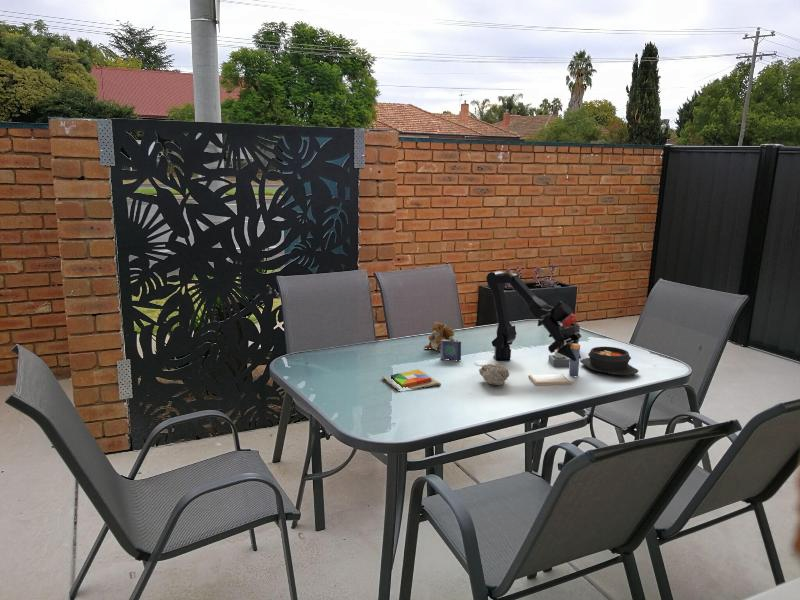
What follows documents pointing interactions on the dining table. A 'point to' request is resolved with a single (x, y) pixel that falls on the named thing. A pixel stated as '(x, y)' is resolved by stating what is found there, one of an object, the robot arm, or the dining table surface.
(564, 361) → the gray square hollow block
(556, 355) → the button
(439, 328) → the stuffed squirrel
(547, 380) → the sketch pad
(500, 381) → the pumice stone
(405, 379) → the wooden puzzle
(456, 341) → the dark blue box
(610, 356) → the casserole
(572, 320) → the stacking bear
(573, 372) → the toy microphone
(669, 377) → the dining table surface
